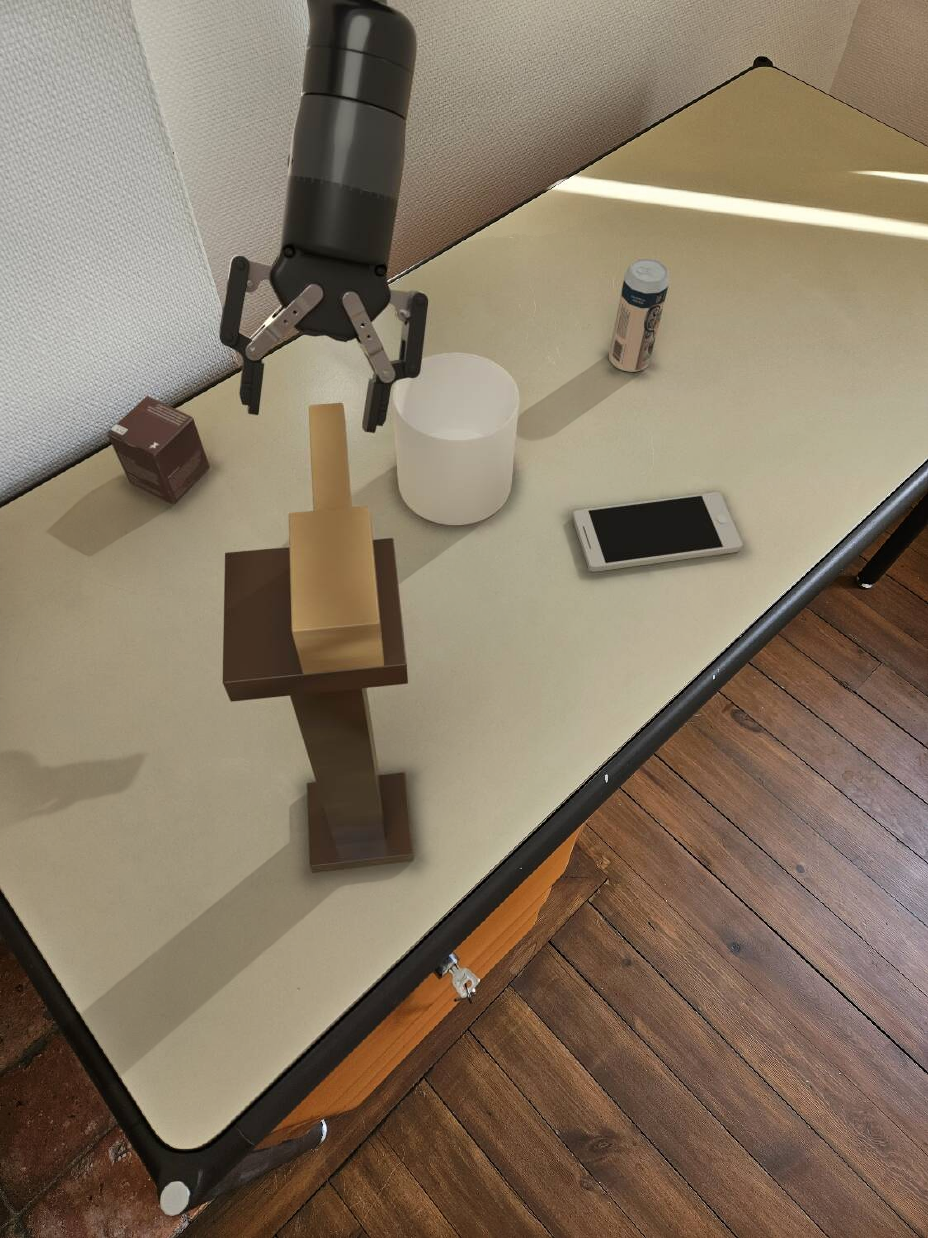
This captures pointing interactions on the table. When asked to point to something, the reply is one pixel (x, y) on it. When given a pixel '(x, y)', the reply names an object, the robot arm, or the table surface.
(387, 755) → the table surface
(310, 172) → the robot arm
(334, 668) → the wooden block
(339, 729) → the stand
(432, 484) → the cup
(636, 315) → the beer can
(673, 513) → the smartphone
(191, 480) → the box
